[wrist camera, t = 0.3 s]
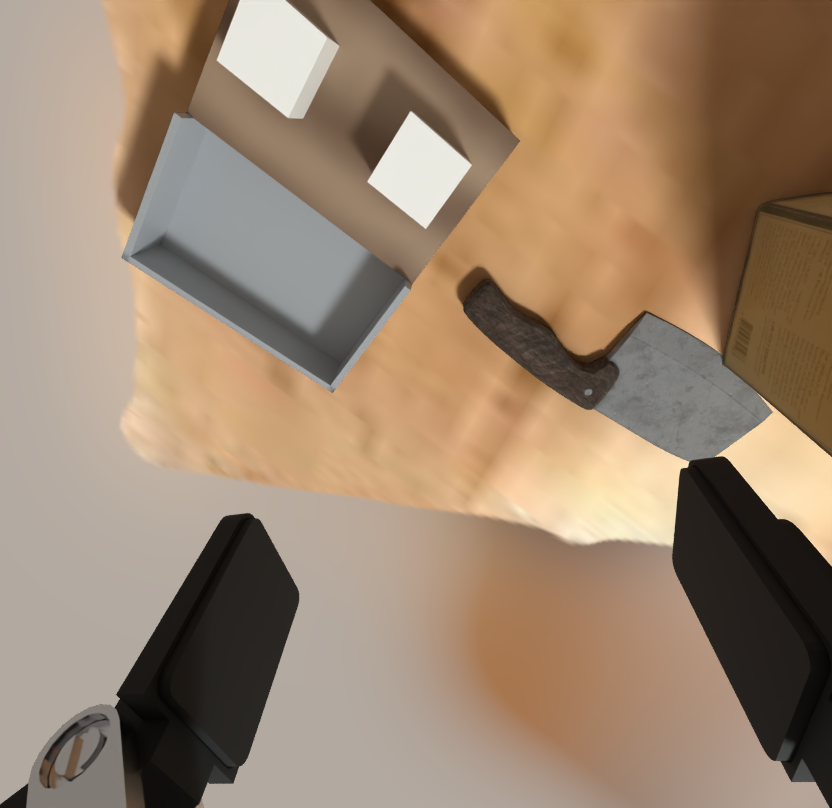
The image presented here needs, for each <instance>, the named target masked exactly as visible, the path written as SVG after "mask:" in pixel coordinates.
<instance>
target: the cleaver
mask: <svg viewBox="0 0 832 808" xmlns="http://www.w3.org/2000/svg"><path fill="white" fill-rule="evenodd" d="M463 307H464V312H465V314H466V315H467V317H468V318H469V319H470V320H471V321H472V322H473V323H474V324H475V325H476V327H477V328H478V329H479V330H481V331H482V332H483V333H484V334H485V335H486V336H487V337H488V338H489V339H490V340H491V341H492V342H493V343H495V344H496V345H497V346H498V347H499V348H500V349H502V350H503V351H504V352H505V353H506V354H508V355H509V356H510V357H511V358H512V359H514V360H515V361H516V362H517V363H519V364H520V365H521V366H522V367H524V368H525V369H526V370H527V371H529V372H530V373H531V374H533V375H534V376H535V377H537V378H538V379H539V380H540V381H542V382H543V383H545V384H546V385H547V386H549V387H550V388H552V389H553V390H555V391H556V392H558V393H559V394H561V395H562V396H564V397H565V398H567V399H569V400H570V401H572V402H574V403H575V404H577V405H579V406H580V407H582V408H584V409H587V410H591V409H595V410H597V411H598V412H600V413H602V414H603V415H605V416H607V417H608V418H610V419H612V420H613V421H615V422H617V423H618V424H620V425H622V426H623V427H625V428H627V429H628V430H630V431H632V432H633V433H635V434H637V435H638V436H640V437H642V438H643V439H645V440H647V441H648V442H650V443H652V444H654V445H655V446H657V447H659V448H661V449H663V450H665V451H667V452H669V453H671V454H673V455H675V456H677V457H680V458H682V459H684V460H687V461H689V462H690V461H691V460H696V459H704V458H713V457H715V456H716V455H718V454H719V453H720V452H722V451H723V450H725V449H726V448H727V447H729V446H730V445H731V444H733V443H734V442H736V441H737V440H738V439H740V438H741V437H742V436H744V435H745V434H747V433H748V432H749V431H751V430H752V429H753V428H755V427H756V426H758V425H759V424H760V423H762V422H763V421H764V420H765V419H766V418H767V417H768V416H769V415H770V414H771V413H772V411H771V409H770V408H769V407H768V406H767V404H766V403H765V402H764V401H763V400H762V398H761V397H760V396H759V395H758V394H757V392H756V391H755V390H754V389H752V388H751V387H750V386H749V385H748V384H746V383H745V382H744V381H743V380H741V379H740V378H739V377H738V376H737V375H735V374H734V373H733V372H732V371H730V370H729V369H728V368H726V367H725V366H723V365H722V363H723V359H724V357H723V356H722V355H721V354H720V353H718V352H717V351H716V350H714V349H713V348H711V347H710V346H708V345H707V344H705V343H704V342H702V341H700V340H698V339H697V338H695V337H693V336H692V335H690V334H688V333H686V332H684V331H683V330H681V329H679V328H677V327H675V326H673V325H671V324H669V323H667V322H665V321H663V320H661V319H659V318H657V317H655V316H652V315H650V314H648V313H646V314H645V315H644V316H643V317H642V318H641V319H640V320H639V321H638V322H637V323H636V324H635V325H634V326H633V327H632V328H631V329H630V330H629V331H628V332H627V333H626V334H625V335H624V336H623V337H622V339H621V340H620V341H619V342H618V343H617V344H616V345H615V347H614V348H613V349H612V350H611V351H610V353H609V354H608V355H607V356H606V357H605V356H603V357H601V358H599V359H597V360H595V361H593V362H591V363H589V364H586V363H579V362H577V361H576V360H574V359H572V358H571V357H570V356H569V355H568V354H567V353H566V352H565V350H564V348H563V347H562V345H561V344H560V342H559V341H558V339H557V338H556V336H555V335H554V334H553V333H552V332H551V331H550V330H549V329H548V328H547V327H546V326H544V325H543V324H541V323H540V322H538V321H535V320H533V319H531V318H529V317H527V316H525V315H523V314H521V313H520V312H518V311H517V310H516V309H514V308H513V307H512V306H511V305H510V304H509V303H508V301H507V300H506V299H505V298H504V296H503V295H502V294H501V292H500V291H499V289H498V288H497V287H496V285H495V284H494V283H493V282H492V281H491V280H490V279H487V280H483V281H482V282H481V283H480V284H479V285H478V286H477V287H476V288H475V289H474V290H473V291H472V292H471V293H470V295H469V296H468V297H467V298H466V300H465V302H464V303H463Z"/></svg>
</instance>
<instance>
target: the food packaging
mask: <svg viewBox="0 0 832 808" xmlns="http://www.w3.org/2000/svg"><path fill="white" fill-rule="evenodd" d="M722 365H723V366H725V367H726V368H728V369H729V370H730V371H732V372H733V373H734V374H735V375H737V376H738V377H739V378H740V379H741V380H743V381H744V382H745V383H746V384H748V385H749V386H750V387H751V388H752V389H754V390H755V391H756V392H757V393H758V394H759V395H761V396H762V397H763V398H764V399H765V400H766V401H768V402H769V403H770V404H771V405H772V406H773V407H775V408H776V409H777V410H778V411H779V412H780V413H782V414H783V415H784V416H785V417H786V418H787V419H788V420H790V421H791V422H792V423H793V424H794V425H795V426H797V427H798V428H799V429H800V430H801V431H802V432H803V433H805V434H806V435H807V436H808V437H809V438H810V439H811V440H813V441H814V442H815V443H816V444H817V445H818V446H819V447H821V448H822V449H823V450H824V451H825V452H826V453H828V454H829V455H830V456H831V457H832V192H827V193H820V194H812V195H805V196H798V197H791V198H784V199H778V200H773V201H769V202H766V203H764V204H762V205H761V206H760V207H759V209H758V212H757V216H756V219H755V224H754V228H753V232H752V236H751V241H750V245H749V250H748V254H747V258H746V262H745V267H744V271H743V275H742V280H741V284H740V288H739V292H738V296H737V301H736V305H735V309H734V312H733V315H732V318H731V321H730V327H729V332H728V338H727V343H726V348H725V352H724V359H723V363H722Z"/></svg>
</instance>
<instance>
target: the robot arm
mask: <svg viewBox="0 0 832 808" xmlns="http://www.w3.org/2000/svg"><path fill="white" fill-rule="evenodd" d="M672 559H673V566H674V569H675V572H676V575H677V577H678V579H679V581H680V583H681V584H682V587H683V589H684V591H685V593H686V595H687V597H688V599H689V601H690V603H691V605H692V607H693V609H694V611H695V613H696V615H697V617H698V619H699V621H700V623H701V625H702V627H703V629H704V631H705V633H706V635H707V637H708V639H709V641H710V643H711V645H712V647H713V649H714V651H715V653H716V655H717V657H718V659H719V661H720V663H721V665H722V667H723V669H724V671H725V673H726V675H727V677H728V679H729V681H730V683H731V685H732V687H733V689H734V691H735V693H736V695H737V697H738V699H739V701H740V703H741V705H742V707H743V709H744V711H745V713H746V715H747V717H748V719H749V721H750V723H751V725H752V727H753V729H754V731H755V733H756V735H757V737H758V739H759V741H760V743H761V745H762V747H763V749H764V751H765V752H766V754H767V755H768V756H769V758H770V759H771V760H774V761H781V763H782V765H783V767H784V769H785V771H786V773H787V774H788V776H789V778H790V780H791V782H816V783H817V785H818V787H819V789H820V791H821V792H822V794H823V796H824V798H825V800H826V802H827V804H828V805H829V807H830V808H832V566H831V565H830V564H829V563H828V562H827V561H826V560H825V558H824V557H823V556H822V555H821V554H820V553H819V551H818V550H817V549H816V548H815V547H814V546H813V544H812V543H811V542H810V541H809V540H808V539H807V538H806V536H805V535H804V534H803V533H802V532H801V531H800V529H798V528H797V527H796V526H795V525H794V524H793V523H792V522H790V521H788V520H786V519H777V518H776V517H775V515H774V514H773V513H772V512H771V511H770V509H769V508H768V507H767V506H766V505H765V503H764V502H763V501H762V500H761V499H760V497H759V496H758V495H757V494H756V493H755V491H754V490H753V489H752V488H751V487H750V485H749V484H748V483H747V482H746V481H745V479H744V478H743V477H742V476H741V474H740V473H739V472H738V471H737V470H736V468H735V467H734V466H733V465H732V464H731V462H730V461H729V460H728V459H727V458H725V457H723V456H721V457H713V458H704V459H696V460H691V461H690V463H689V466H688V468H683V469H681V470H680V476H679V487H678V499H677V510H676V521H675V532H674V543H673V554H672ZM298 603H299V591H298V588H297V586H296V585H295V583H294V581H293V579H292V577H291V576H290V574H289V572H288V570H287V568H286V566H285V565H284V563H283V561H282V559H281V557H280V556H279V554H278V552H277V550H276V548H275V546H274V545H273V543H272V541H271V539H270V537H269V536H268V534H267V532H266V530H265V529H264V526H263V525H262V523H261V521H260V520H259V519H255V518H254V516H253V515H251V514H250V513H246V514H237V515H229V516H225V517H223V519H222V520H221V521H220V523H219V524H218V526H217V528H216V529H215V531H214V533H213V534H212V536H211V538H210V539H209V541H208V543H207V544H206V546H205V548H204V549H203V551H202V553H201V554H200V556H199V558H198V559H197V561H196V563H195V564H194V566H193V568H192V569H191V571H190V573H189V574H188V576H187V578H186V579H185V581H184V583H183V584H182V586H181V588H180V589H179V591H178V593H177V594H176V596H175V598H174V599H173V601H172V603H171V604H170V606H169V608H168V609H167V611H166V613H165V614H164V616H163V618H162V619H161V621H160V623H159V624H158V626H157V628H156V629H155V631H154V633H153V634H152V636H151V638H150V639H149V641H148V643H147V644H146V646H145V647H144V649H143V651H142V652H141V654H140V656H139V657H138V659H137V661H136V662H135V664H134V666H133V668H132V669H131V671H130V672H129V674H128V676H127V678H126V679H125V681H124V682H123V684H122V686H121V687H120V689H119V691H118V692H117V694H116V695H117V696H118V697H119V698H120V700H119V701H118V703H117V705H116V706H115V708H114V707H112V706H111V705H103V704H100V705H96V706H93V707H89V708H88V709H86V710H84V711H82V712H80V713H79V714H76V715H75V716H74V717H73V718H71V719H70V720H69V721H68V722H66V723H65V724H64V725H62V726H61V728H60V729H59V730H58V731H57V732H56V733H55V734H54V735H53V736H52V737H51V738H50V739H49V741H48V742H47V743H46V745H45V746H44V748H43V749H42V750H41V752H40V753H39V755H38V757H37V759H36V761H35V763H34V765H33V767H32V770H31V774H30V778H29V783H28V784H27V785H25V786H24V787H23V788H21V789H20V790H19V791H17V792H16V793H15V794H13V795H12V796H11V797H10V798H8V799H7V800H6V801H4V802H3V803H2V804H0V808H204V807H203V802H202V796H203V793H204V790H205V788H206V785H207V782H208V783H209V784H215V783H216V784H217V783H218V784H219V783H220V784H221V783H222V784H226V783H229V784H231V783H234V780H235V777H236V774H237V771H238V768H239V766H241V765H243V764H244V763H245V761H246V759H247V758H248V755H249V752H250V749H251V746H252V743H253V740H254V737H255V734H256V731H257V728H258V725H259V722H260V719H261V716H262V713H263V710H264V707H265V704H266V701H267V698H268V695H269V692H270V689H271V686H272V683H273V680H274V677H275V674H276V670H277V668H278V664H279V662H280V658H281V656H282V652H283V649H284V646H285V643H286V640H287V637H288V634H289V631H290V628H291V625H292V622H293V619H294V616H295V613H296V610H297V607H298Z"/></svg>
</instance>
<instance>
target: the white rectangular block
mask: <svg viewBox="0 0 832 808" xmlns="http://www.w3.org/2000/svg"><path fill="white" fill-rule="evenodd" d="M338 48H339V45H338V44H337V43H336V42H335V41H334V40H332V39H331V38H330V37H329V36H328V35H327V34H326V33H324V32H323V31H322V30H321V29H320V28H319V27H318V26H317V25H315V24H314V23H313V22H312V21H311V20H310V19H309V18H308V17H306V16H305V15H304V14H303V13H302V12H301V11H300V10H299V9H297V8H296V7H295V6H294V5H293V4H292V3H291V2H289V1H288V0H240V1H239V4H238V6H237V9H236V12H235V14H234V17H233V19H232V22H231V24H230V27H229V30H228V32H227V35H226V37H225V40H224V43H223V45H222V48H221V50H220V53H219V56H218V58H217V61H218V62H219V63H220V64H222V65H223V66H224V67H225V68H227V69H228V70H229V71H230V72H232V73H233V74H234V75H235V76H237V77H238V78H239V79H240V80H241V81H243V82H244V83H245V84H246V85H248V86H249V87H250V88H251V89H253V90H254V91H255V92H256V93H258V94H259V95H260V96H261V97H263V98H264V99H265V100H266V101H268V102H269V103H270V104H271V105H272V106H274V107H275V108H276V109H277V110H279V111H280V112H281V113H282V114H284V115H285V116H286V117H287V118H297V119H303V118H304V116H305V114H306V112H307V110H308V108H309V106H310V104H311V102H312V100H313V98H314V96H315V94H316V92H317V90H318V88H319V86H320V84H321V82H322V80H323V78H324V76H325V74H326V72H327V70H328V68H329V66H330V64H331V62H332V60H333V58H334V56H335V54H336V52H337V50H338Z"/></svg>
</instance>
